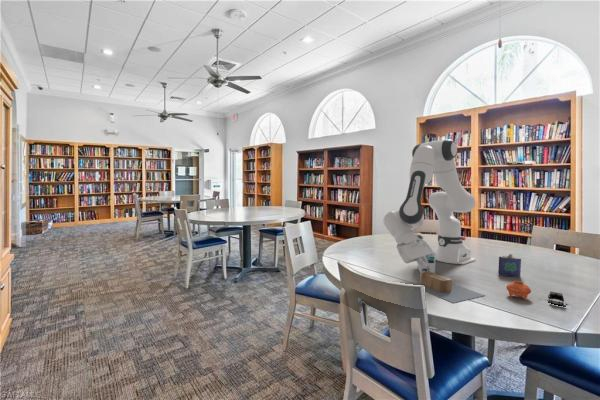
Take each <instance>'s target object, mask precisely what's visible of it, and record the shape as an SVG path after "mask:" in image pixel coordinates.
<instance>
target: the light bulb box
mask: <svg viewBox="0 0 600 400" xmlns="http://www.w3.org/2000/svg"><path fill="white" fill-rule="evenodd" d="M426 258H427V261H428V263H429V265H430V266H429V267H427V268H423V267H422V265H420V264H419V263H417V269H418V271H419V274H420V273H422V272H428V271H430V272H433V273H435V274H436V259H435V258H436V252H435V251H433V254H432V255H430V256H429V257H426Z"/></svg>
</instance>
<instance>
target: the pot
mask: <svg viewBox="0 0 600 400" xmlns="http://www.w3.org/2000/svg"><path fill="white" fill-rule="evenodd" d="M506 290H507V291H508V295H509V297H511V296H513V295H514V296H515V297H523V299H525V301H527V298H528V296H529V295H530V294H531V292H532V289H531V288H530V287H529V285H527V284H525V283H524V282H523V281H519V280H514V281H513V282H510V283H508V284H507V285H506Z"/></svg>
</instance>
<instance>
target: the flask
mask: <svg viewBox="0 0 600 400" xmlns="http://www.w3.org/2000/svg"><path fill="white" fill-rule="evenodd" d="M513 256H514V255H513V253H509V255H502V256H498V270H497V271H498V272H497V274H499V275H498V276H501V275H506V276H505V277H511V276H520V277H521V272H522V271H521V269H522V265H521V264H522V258H521V257H513Z"/></svg>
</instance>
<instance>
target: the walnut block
mask: <svg viewBox="0 0 600 400" xmlns="http://www.w3.org/2000/svg"><path fill="white" fill-rule="evenodd" d="M419 274H420V277H419V280H420V281H419V284H420V285H422V284H423V285H422V286H424V285H425V286H427V287H430V288H432V289H434V290H437V291H439V292H441V293H445V292H450V291H451V286H452V278H449V277H447V276H444V275H440V274H438V273H436V272H435V273H433V272H430V271H428V272H422V273H420V272H419Z"/></svg>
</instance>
